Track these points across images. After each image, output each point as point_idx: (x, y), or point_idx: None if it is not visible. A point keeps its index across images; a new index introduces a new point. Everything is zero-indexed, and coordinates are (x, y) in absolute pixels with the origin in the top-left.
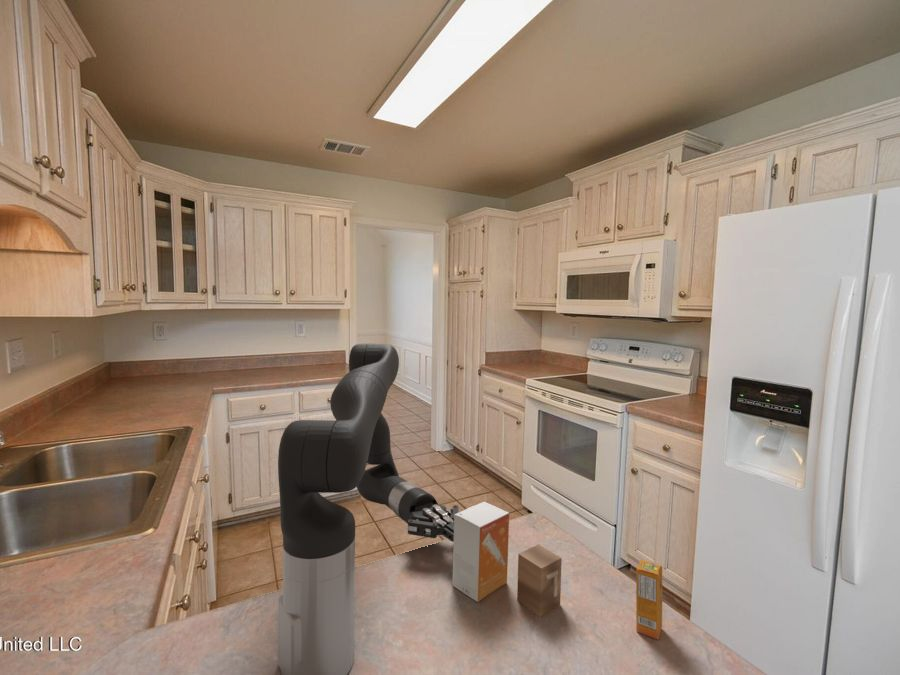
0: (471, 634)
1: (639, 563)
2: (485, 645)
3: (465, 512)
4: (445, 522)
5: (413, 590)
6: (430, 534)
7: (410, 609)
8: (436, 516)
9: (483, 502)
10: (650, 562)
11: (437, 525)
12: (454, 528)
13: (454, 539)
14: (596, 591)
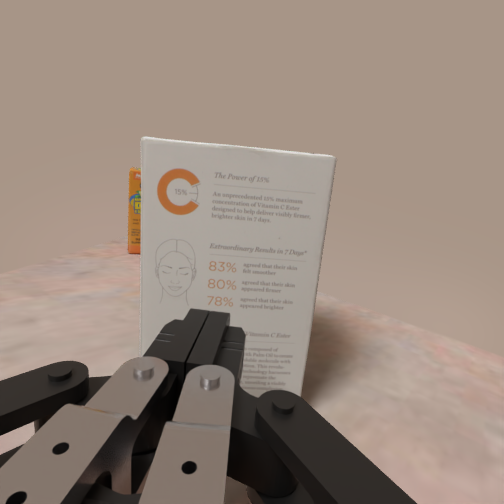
0: (347, 332)
1: (140, 171)
2: (338, 316)
3: (286, 151)
4: (190, 376)
5: (450, 493)
6: (298, 490)
7: (474, 435)
8: (192, 432)
9: (154, 138)
10: (132, 168)
11: (239, 424)
12: (327, 214)
13: (321, 257)
14: (87, 275)
